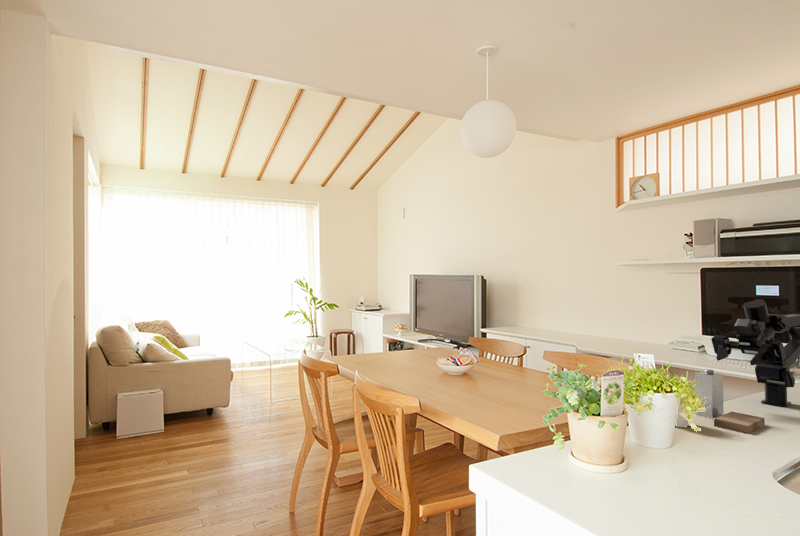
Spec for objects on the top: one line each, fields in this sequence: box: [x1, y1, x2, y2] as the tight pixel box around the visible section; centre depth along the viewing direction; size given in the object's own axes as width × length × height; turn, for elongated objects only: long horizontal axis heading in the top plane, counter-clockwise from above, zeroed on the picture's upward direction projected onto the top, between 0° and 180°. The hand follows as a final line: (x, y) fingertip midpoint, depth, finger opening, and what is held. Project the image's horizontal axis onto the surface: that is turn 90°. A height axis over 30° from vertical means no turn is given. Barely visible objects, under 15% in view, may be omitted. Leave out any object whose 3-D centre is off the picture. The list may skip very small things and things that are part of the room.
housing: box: [694, 368, 725, 420], centre depth 143 cm, size 5×5×14 cm
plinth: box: [713, 411, 766, 434], centre depth 134 cm, size 12×8×2 cm, turn 126°
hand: (733, 361), depth 145 cm, fingers open, 9 cm apart
